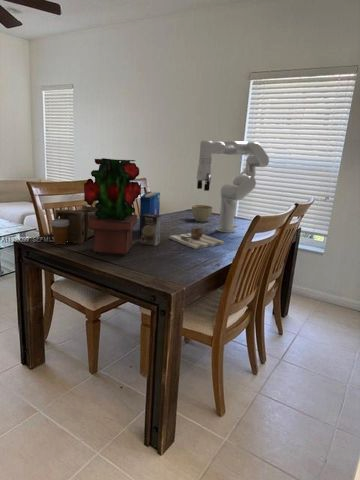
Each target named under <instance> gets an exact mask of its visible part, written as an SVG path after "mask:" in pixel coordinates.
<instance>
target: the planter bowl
mask: <svg viewBox="0 0 360 480" xmlns="http://www.w3.org/2000/svg"><path fill="white" fill-rule="evenodd" d="M213 208H214V207H213V206H211V205H207V204H193V205H191V213H192V215H193V217H194V220H195V221H197V222H205V223H206V222H207V221H208V220H209V218H210V217H211V215H212V213H213Z"/></svg>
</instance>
